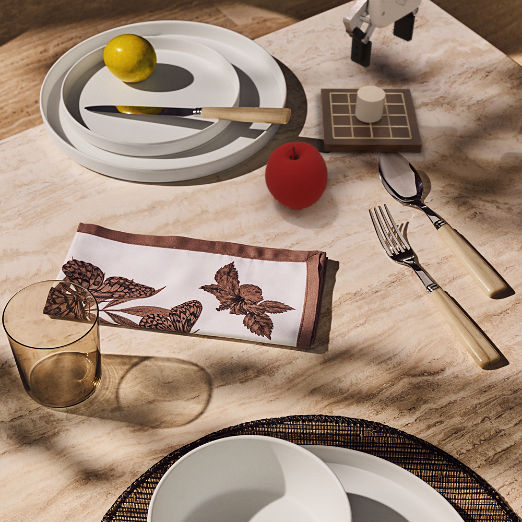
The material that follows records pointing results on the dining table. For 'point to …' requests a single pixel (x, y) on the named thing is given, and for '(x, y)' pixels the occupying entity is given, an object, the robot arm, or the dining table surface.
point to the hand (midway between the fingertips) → (381, 50)
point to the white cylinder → (369, 104)
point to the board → (369, 134)
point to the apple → (296, 175)
